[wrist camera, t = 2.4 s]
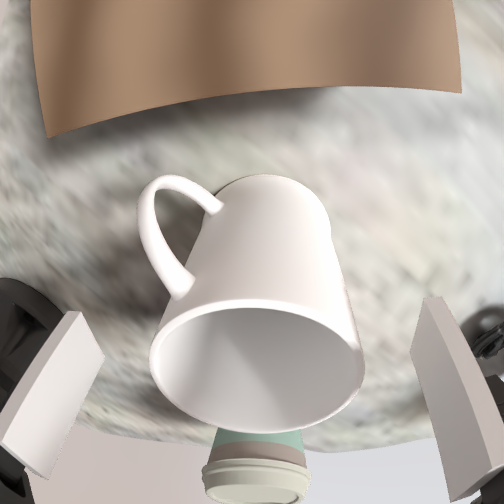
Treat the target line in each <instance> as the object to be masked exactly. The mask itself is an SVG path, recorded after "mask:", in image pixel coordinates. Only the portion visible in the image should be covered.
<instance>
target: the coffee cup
mask: <svg viewBox="0 0 504 504" xmlns="http://www.w3.org/2000/svg"><path fill="white" fill-rule="evenodd" d="M202 474H203V476H202V480H203V482H204V485H205V492H206V495H207V496H208V497H209V498H211V499H212V500H215V501H217V502H219V503H223V504H297V503H300V502H301V501H303V499H304V498H305V495H306V491H307V489H308V487H309V486H310V479H311V477H312V475H311V473H310V471H308V470H307V467H306V460H305V453H304V447H303V441H302V435H301V429H299V430H294V431H289V432H282V433H269V434H256V433H244V432H237V431H231V430H227V429H223V428H219V427H218V429H217V433H216V436H215V439H214V443H213V446H212V449H211V453H210V456H209V460H208V463H207V465H205V466H204V467H203V469H202Z"/></svg>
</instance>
